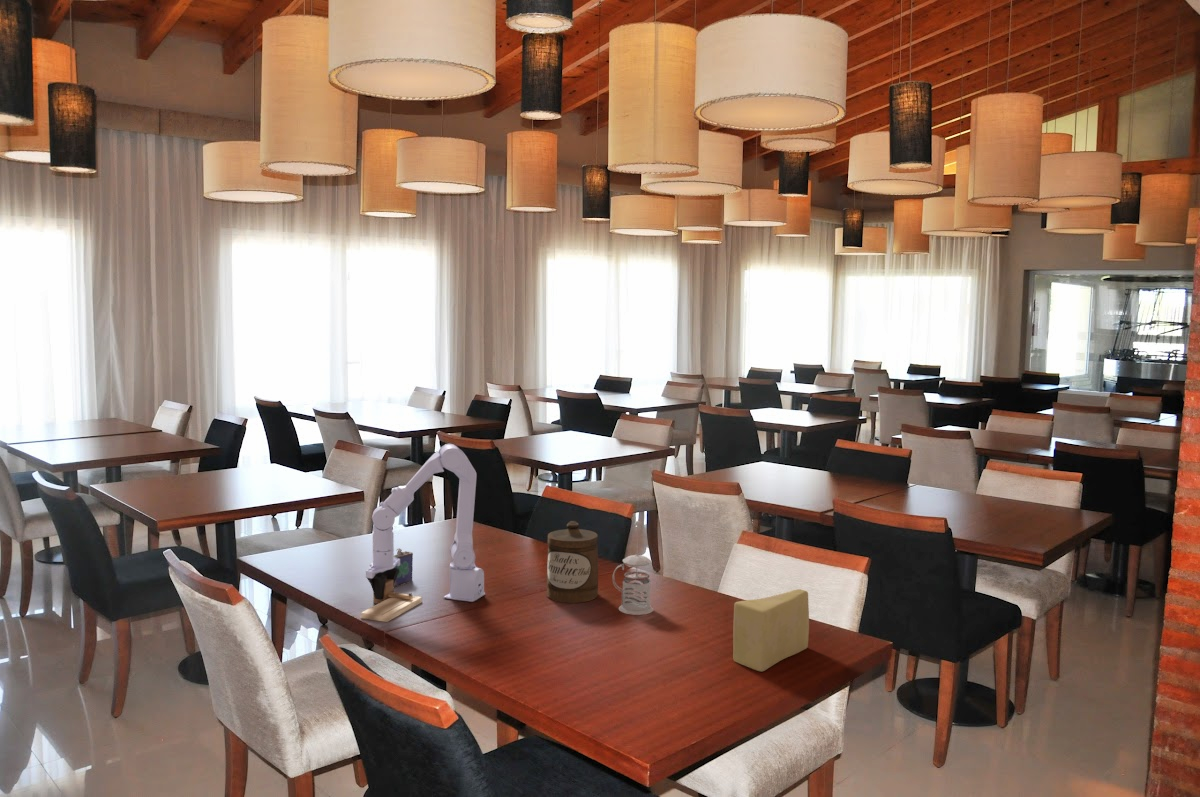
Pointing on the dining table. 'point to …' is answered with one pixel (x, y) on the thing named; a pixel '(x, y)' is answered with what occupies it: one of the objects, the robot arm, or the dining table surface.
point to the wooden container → (572, 565)
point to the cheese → (770, 629)
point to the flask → (404, 567)
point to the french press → (635, 585)
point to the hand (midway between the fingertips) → (383, 596)
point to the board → (390, 608)
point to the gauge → (391, 593)
